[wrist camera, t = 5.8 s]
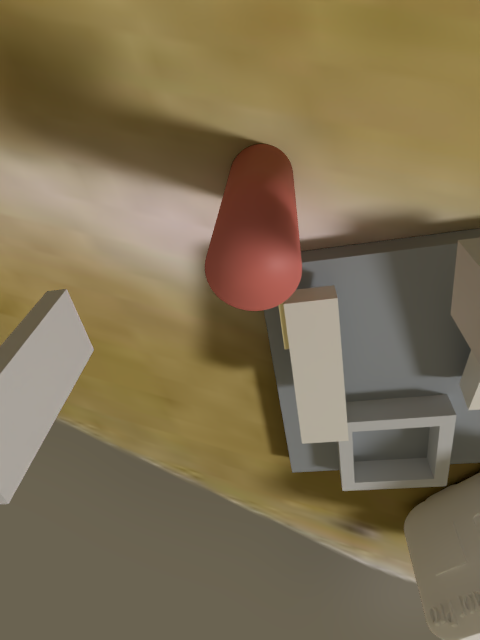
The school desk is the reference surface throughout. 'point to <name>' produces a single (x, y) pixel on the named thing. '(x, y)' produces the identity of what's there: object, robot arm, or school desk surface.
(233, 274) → the red capsule
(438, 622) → the cable organizer
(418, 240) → the panel
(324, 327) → the block
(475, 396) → the block
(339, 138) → the school desk surface
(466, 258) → the robot arm
